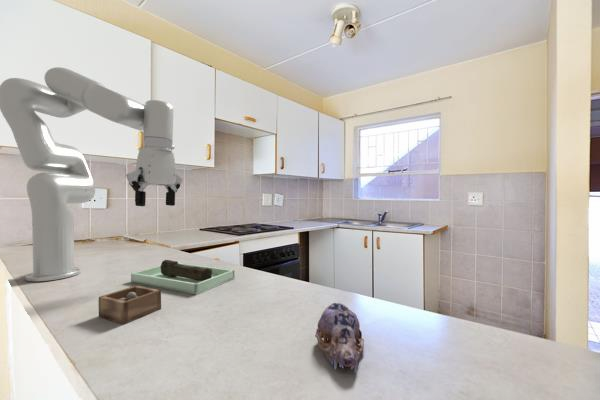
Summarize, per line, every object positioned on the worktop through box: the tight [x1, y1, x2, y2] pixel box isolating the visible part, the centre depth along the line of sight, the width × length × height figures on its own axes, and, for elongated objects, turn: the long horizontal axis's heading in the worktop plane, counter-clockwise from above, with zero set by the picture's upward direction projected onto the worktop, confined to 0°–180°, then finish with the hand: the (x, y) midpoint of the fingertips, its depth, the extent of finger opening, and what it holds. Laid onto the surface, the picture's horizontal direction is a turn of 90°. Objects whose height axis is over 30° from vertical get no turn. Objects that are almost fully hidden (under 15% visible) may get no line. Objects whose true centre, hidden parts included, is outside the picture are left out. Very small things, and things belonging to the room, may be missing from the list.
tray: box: [130, 262, 235, 295], centre depth 81 cm, size 25×15×2 cm, turn 65°
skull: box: [314, 302, 365, 373], centre depth 43 cm, size 12×8×6 cm, turn 172°
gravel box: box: [98, 285, 162, 325], centre depth 58 cm, size 8×8×4 cm
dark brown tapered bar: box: [160, 259, 212, 282], centre depth 81 cm, size 19×4×5 cm, turn 61°
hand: (156, 205), depth 80 cm, fingers open, 9 cm apart
